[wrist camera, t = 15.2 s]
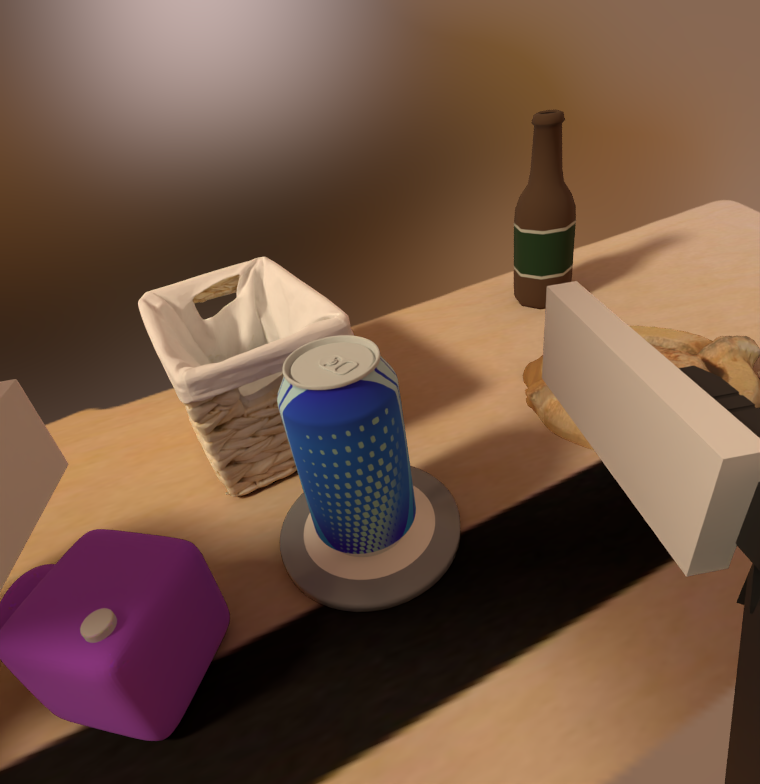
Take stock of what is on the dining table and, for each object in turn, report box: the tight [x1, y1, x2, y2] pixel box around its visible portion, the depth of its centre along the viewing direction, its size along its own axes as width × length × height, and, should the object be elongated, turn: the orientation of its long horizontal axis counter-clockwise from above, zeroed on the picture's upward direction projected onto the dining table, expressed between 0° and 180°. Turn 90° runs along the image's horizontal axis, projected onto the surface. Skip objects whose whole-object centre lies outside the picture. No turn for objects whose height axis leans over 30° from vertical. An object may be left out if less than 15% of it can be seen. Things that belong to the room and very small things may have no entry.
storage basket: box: [138, 257, 354, 497], centre depth 56 cm, size 24×16×15 cm
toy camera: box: [0, 529, 230, 741], centre depth 35 cm, size 11×14×10 cm
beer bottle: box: [514, 110, 576, 309], centre depth 70 cm, size 8×8×24 cm
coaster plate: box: [280, 466, 461, 612], centre depth 45 cm, size 15×15×1 cm
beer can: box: [277, 335, 416, 557], centre depth 40 cm, size 8×8×16 cm
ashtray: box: [523, 326, 760, 450], centre depth 54 cm, size 24×24×5 cm
